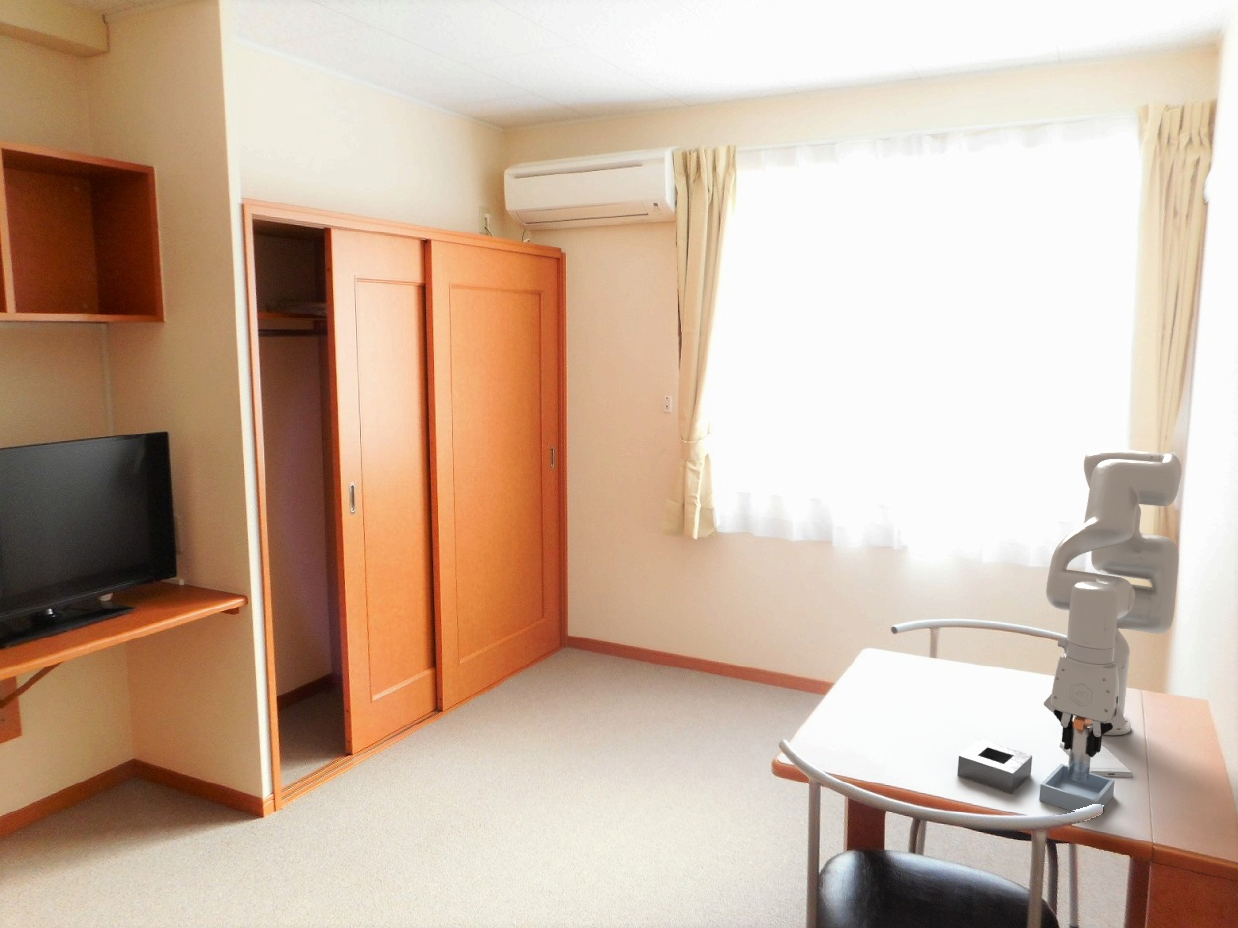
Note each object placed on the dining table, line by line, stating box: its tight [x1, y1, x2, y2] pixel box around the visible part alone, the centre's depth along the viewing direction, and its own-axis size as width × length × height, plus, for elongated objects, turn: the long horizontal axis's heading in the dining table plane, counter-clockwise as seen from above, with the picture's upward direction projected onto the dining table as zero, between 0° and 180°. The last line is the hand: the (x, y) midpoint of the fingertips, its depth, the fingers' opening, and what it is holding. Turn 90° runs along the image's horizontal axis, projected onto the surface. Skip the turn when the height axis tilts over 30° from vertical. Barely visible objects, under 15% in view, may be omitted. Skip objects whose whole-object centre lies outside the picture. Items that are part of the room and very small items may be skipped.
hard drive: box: [1059, 741, 1134, 778], centre depth 178 cm, size 2×8×12 cm
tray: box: [1038, 763, 1115, 812], centre depth 164 cm, size 11×9×3 cm
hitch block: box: [957, 738, 1033, 795], centre depth 172 cm, size 10×10×4 cm
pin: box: [1067, 716, 1093, 782], centre depth 162 cm, size 3×5×12 cm
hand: (1080, 749), depth 162 cm, fingers closed on pin, 3 cm apart
